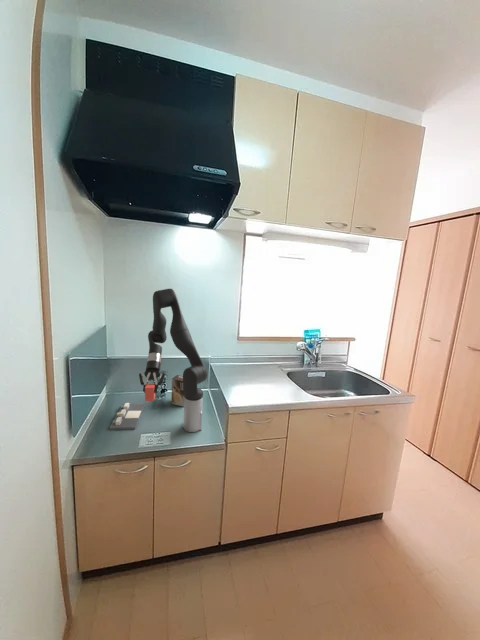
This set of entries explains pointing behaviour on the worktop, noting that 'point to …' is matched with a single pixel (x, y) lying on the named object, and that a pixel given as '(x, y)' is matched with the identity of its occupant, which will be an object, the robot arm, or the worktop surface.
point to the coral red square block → (149, 392)
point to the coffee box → (177, 390)
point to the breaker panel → (127, 417)
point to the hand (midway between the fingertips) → (149, 392)
